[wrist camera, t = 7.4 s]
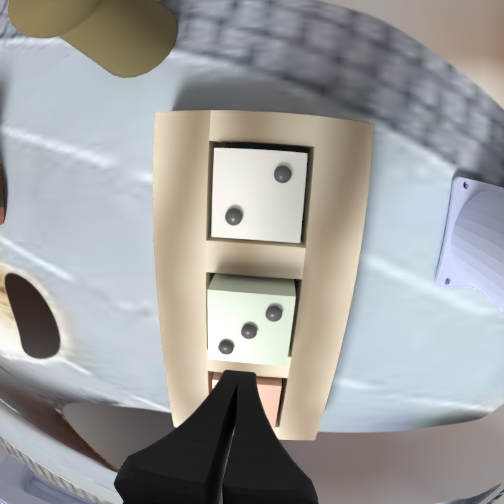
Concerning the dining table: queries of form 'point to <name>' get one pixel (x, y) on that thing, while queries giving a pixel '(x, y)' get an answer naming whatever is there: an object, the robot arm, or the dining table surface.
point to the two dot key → (258, 194)
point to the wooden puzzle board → (258, 252)
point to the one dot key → (264, 394)
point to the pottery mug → (1, 197)
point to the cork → (103, 30)
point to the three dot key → (250, 318)
